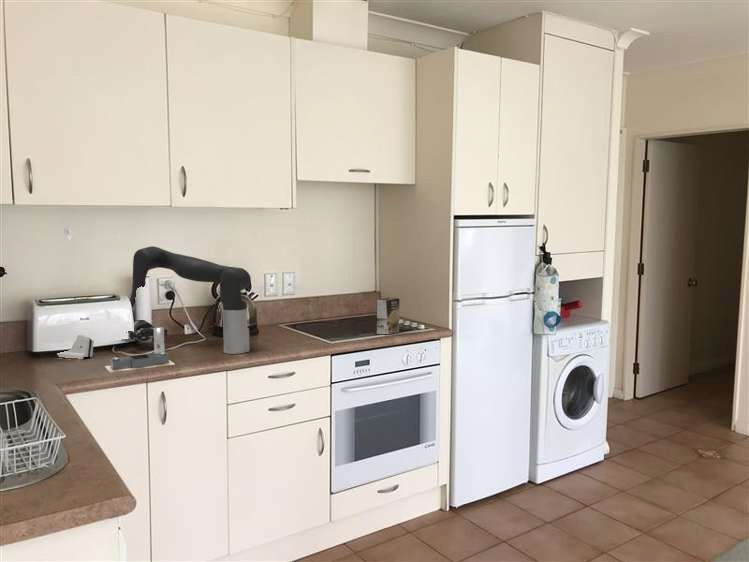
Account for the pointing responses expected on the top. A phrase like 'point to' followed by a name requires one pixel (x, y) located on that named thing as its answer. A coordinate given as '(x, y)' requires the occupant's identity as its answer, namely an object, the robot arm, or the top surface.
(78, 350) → the hinge
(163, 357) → the grey notched block
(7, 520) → the top surface
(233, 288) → the robot arm
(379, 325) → the coffee box
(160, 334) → the link pin
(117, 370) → the board
